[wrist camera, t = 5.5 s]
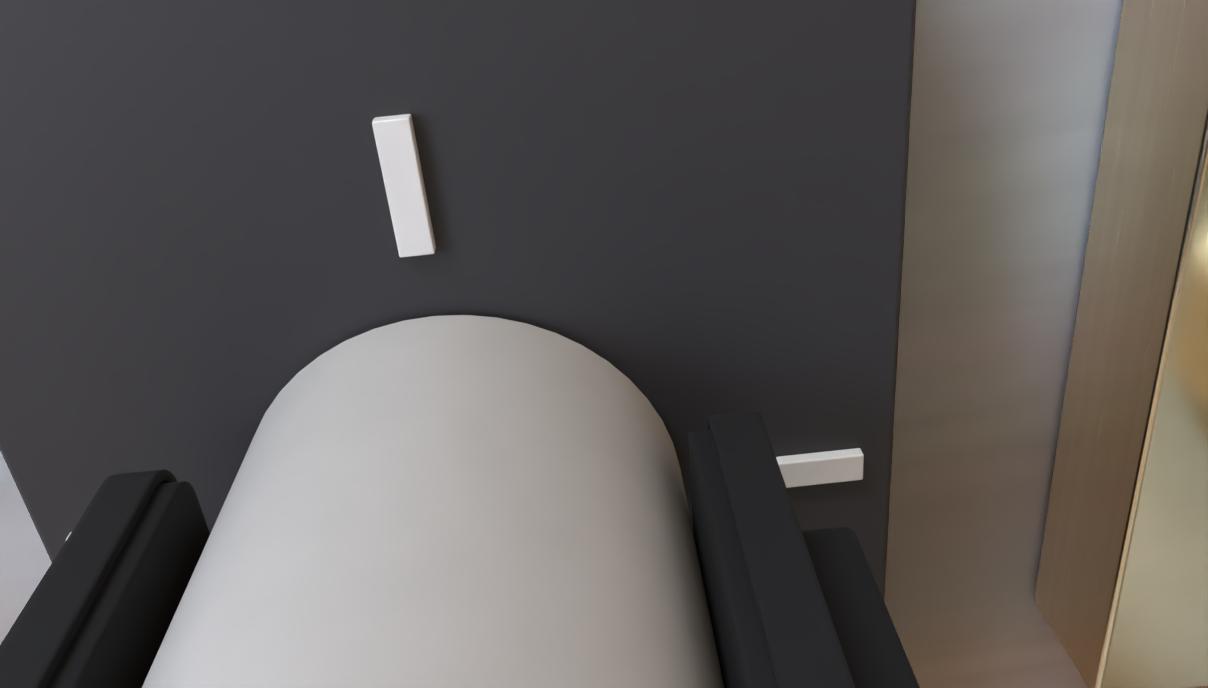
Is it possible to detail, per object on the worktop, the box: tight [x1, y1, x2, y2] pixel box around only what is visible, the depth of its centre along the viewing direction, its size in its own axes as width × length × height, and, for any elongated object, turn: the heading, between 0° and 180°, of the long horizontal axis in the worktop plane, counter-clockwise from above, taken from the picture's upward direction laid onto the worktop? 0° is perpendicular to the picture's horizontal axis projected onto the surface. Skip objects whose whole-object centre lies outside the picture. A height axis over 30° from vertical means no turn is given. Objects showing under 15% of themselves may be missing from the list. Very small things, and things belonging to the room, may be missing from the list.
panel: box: [0, 0, 917, 601], centre depth 13 cm, size 14×10×3 cm
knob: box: [142, 315, 724, 688], centre depth 9 cm, size 5×5×6 cm
